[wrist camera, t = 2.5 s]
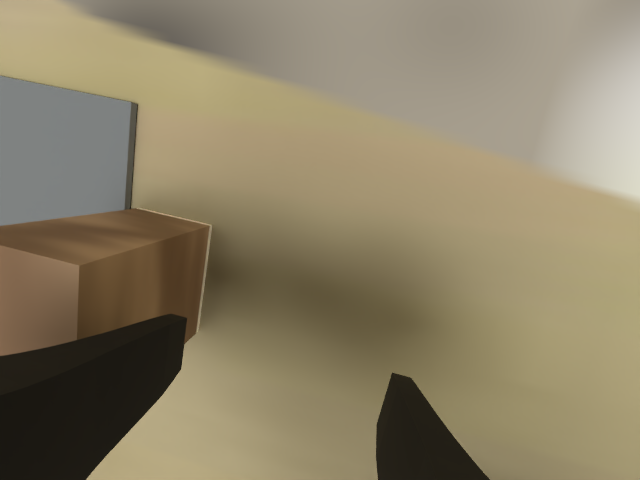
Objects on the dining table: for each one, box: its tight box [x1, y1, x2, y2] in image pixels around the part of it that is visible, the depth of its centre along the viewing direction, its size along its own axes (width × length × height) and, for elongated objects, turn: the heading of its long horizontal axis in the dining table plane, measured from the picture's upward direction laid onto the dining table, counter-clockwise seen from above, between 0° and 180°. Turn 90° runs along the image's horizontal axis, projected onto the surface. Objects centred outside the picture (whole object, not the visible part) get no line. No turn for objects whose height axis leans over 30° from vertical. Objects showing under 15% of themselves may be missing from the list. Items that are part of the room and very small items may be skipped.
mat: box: [0, 76, 137, 226], centre depth 17 cm, size 14×16×1 cm
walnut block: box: [0, 208, 212, 356], centre depth 13 cm, size 4×6×8 cm, turn 168°
